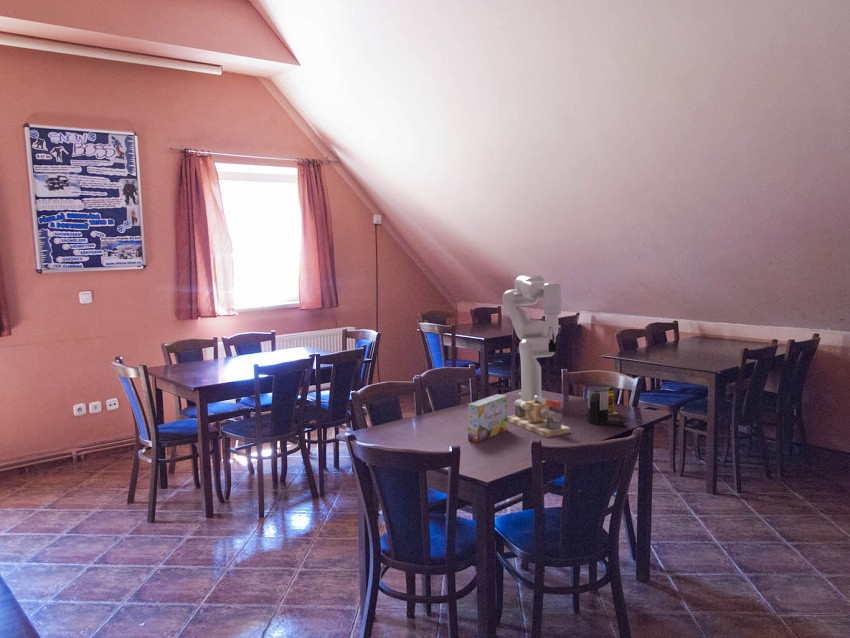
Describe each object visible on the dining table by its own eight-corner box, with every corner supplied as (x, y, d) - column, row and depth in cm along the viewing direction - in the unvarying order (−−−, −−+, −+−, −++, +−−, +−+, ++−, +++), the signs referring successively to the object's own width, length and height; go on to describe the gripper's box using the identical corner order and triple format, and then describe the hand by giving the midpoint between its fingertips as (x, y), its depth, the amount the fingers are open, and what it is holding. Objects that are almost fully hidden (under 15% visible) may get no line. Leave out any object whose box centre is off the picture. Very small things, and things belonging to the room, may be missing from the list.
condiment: (605, 416, 284) (605, 389, 282) (593, 411, 291) (593, 385, 290) (618, 413, 286) (618, 387, 285) (606, 409, 294) (606, 384, 293)
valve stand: (506, 420, 280) (506, 397, 279) (529, 416, 286) (528, 393, 284) (546, 437, 255) (546, 411, 254) (570, 432, 261) (570, 407, 259)
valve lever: (532, 401, 270) (532, 395, 269) (537, 400, 271) (537, 394, 271) (556, 408, 257) (556, 402, 257) (561, 407, 259) (561, 401, 258)
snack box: (479, 443, 251) (478, 405, 249) (467, 440, 254) (466, 403, 252) (508, 430, 267) (507, 394, 265) (496, 427, 270) (496, 393, 269)
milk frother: (586, 418, 280) (586, 385, 278) (623, 419, 277) (623, 386, 276) (588, 428, 266) (588, 393, 265) (628, 428, 263) (628, 393, 262)
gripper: (545, 308, 289) (546, 348, 291) (541, 312, 275) (541, 354, 277) (562, 308, 287) (562, 349, 289) (558, 312, 273) (559, 355, 275)
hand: (552, 351), depth 283 cm, fingers closed
